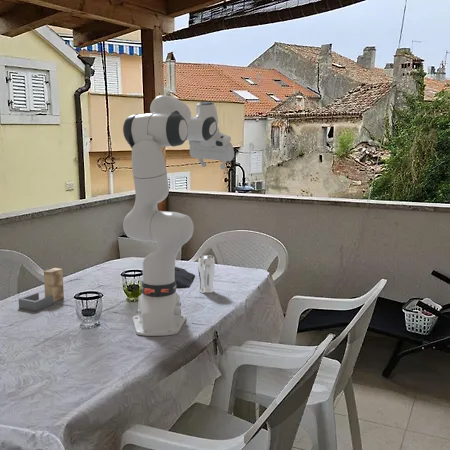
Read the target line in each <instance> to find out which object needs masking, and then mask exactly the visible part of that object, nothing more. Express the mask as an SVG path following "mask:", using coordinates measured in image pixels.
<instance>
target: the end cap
mask: <svg viewBox="0 0 450 450" xmlns="http://www.w3.org/2000/svg"><path fill="white" fill-rule="evenodd" d="M53 305H54V302H53V295H50V296H47V297H45V296H44V297H43V298H40V294H39V292H34V293H32V294H29V295H26V296H23V297H20V298H18V308H20V309H24V310H28V311H35V312H37V311H39V310H42V309H45V308H47V307H50V306H53Z"/></svg>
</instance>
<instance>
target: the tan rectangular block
mask: <svg viewBox="0 0 450 450" xmlns="http://www.w3.org/2000/svg"><path fill="white" fill-rule="evenodd" d="M63 274H64V273H63V268H58V267H53V268H50V269H46V270H44V271H43V282H44V283H43V284H44V298H45V297H47V296H50V295H53V303H54V302H56V301H59V300H62V299H64V298H65V294H64V275H63Z"/></svg>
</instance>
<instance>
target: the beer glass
mask: <svg viewBox="0 0 450 450" xmlns="http://www.w3.org/2000/svg"><path fill="white" fill-rule="evenodd" d="M215 265H216V264H215V256H214V255H212V254H211V255H210V254H207V255H206V254H204V255H199V256H198V265H197V268H198V269H197V271H198V277H199V293H201V294H212V293H214V290H215V289H214V285H213V284H214V283H213V282H214V277H215V267H216V266H215Z"/></svg>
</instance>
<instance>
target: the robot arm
mask: <svg viewBox="0 0 450 450" xmlns="http://www.w3.org/2000/svg"><path fill="white" fill-rule="evenodd" d="M195 110H196V111H195V112H196V113H195V114H196V116H192V112H191V109H190V107H189V106H188V105H187V104H186V103H185V102H183V101H182V100H180V99H178V98H176V97H173V96H170V95H157V96H156V97H155V98H154V99H153V100H152V101H151V104H150V106H149V111H150V113H148V112H147V113H142V114H139V113H135V114H132V115H129V116H127V118H126V119H125V120H124V122H123V127H122V133H123V137H124V139H125V141H126V142H127V144H128V145H129V146H130V147H131V170H132V176H133V183H134V184H133V185H134V189H135V190H134V191H135V193H134V194H135V201H134V205H133V207H132V208H131V210H130V211H129V212H128V213H127V214H126V215H125V217H124V219H123V222H122V223H123V224H122V227H123V228H122V229H123V232H124V234H125V236H127V238H130V239H132V240H135V241H138V242H149V243H156V244H155V245H156V246H155V250H154V251H153V252H151V253H149V254H147V255H146V256H145V257H144V259H143V260H142V281H141V294H140V295H139V296H138V297H137V298H138V299H137V300H138V301H137V302H138V304H137V305H138V308H137V310H136V313H137V315H134V316H133V317H132V324H133V327H134V331H135V334H136V335H140V336H145V337H146V336H147V337H151V336H152V337H154V336H155V337H156V336H157V337H159V336H161V337H162V336H163V337H164V336H170V335H176V334H179V332H180V331H181V329H182V327H183V325H184V323H185V322H186V320H187V316H186V314H182V309H181V305H182V302H181V296H180V294H178V293H177V292H176V291H177V287H176V280H175V267H176V260H177V257H178V256H177V255H178V253H179V251H180V249H181V248H183V246H184V245H185V244H187V243H188V242H189V241H190V240H191V238H192V237H193V234H194V232H195V231H194V229H195V227H194V225H195V224H194V222H193V220H192V218H191V216H189V215H187V214H184V213H181V212H178V211H177V212H176V211H166V210H165V211H164V210H163V211H162V210H159V206H158V205H159V203H161V202H163V201H164V200H165V199H166V198H167V197H168V195H169V192H170V187H169V180H168V172H167V167H166V166H167V165H166V161H165V157H164V154H163V151H162V148H163V147H164V148H165V147H177V146H182V145H184V143H185V142H186V141H188V144H189V156H190V157H191V158H194V159H195V158H196V159H197V160H198V162H199V163H200V166H201V167H202V168H205V167H207V163H206V161H204V160H212V161H213V160H214V161H221V163H222V164H220V169H221V170H225V169H226V164H227V162H231V161H232V160H233V159H234V158H235V150H234V146H233V143H232V142H231V140H232V138H231V136H230V135H227V134H226V133H225V134H224V133H222V132H220V129H219V126H218V125H219V118H218V111H217V107H216V105H215V103H214V102H212V101H200V102H198V103H196V109H195ZM203 159H204V160H203Z"/></svg>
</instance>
